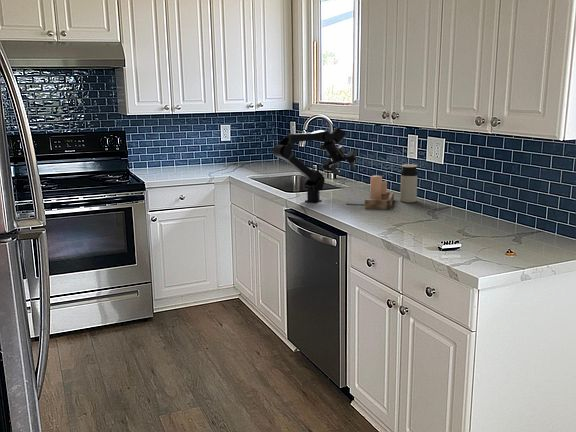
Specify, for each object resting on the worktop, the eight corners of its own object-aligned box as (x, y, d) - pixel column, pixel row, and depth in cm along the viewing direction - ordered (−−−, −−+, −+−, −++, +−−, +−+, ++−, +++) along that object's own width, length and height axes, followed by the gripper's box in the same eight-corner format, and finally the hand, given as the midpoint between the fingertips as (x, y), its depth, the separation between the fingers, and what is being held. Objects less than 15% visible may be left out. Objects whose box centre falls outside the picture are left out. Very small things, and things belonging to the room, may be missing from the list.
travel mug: (419, 202, 280) (420, 165, 276) (405, 203, 278) (406, 166, 274) (411, 199, 287) (412, 163, 283) (397, 200, 285) (398, 164, 281)
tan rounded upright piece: (369, 204, 276) (369, 177, 273) (370, 202, 281) (371, 175, 278) (385, 205, 274) (386, 177, 271) (386, 202, 280) (387, 175, 276)
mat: (346, 204, 277) (346, 203, 277) (349, 200, 286) (349, 199, 286) (367, 205, 274) (367, 204, 274) (369, 201, 284) (369, 200, 284)
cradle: (364, 208, 268) (364, 199, 267) (370, 198, 290) (370, 191, 289) (389, 209, 265) (390, 200, 265) (393, 199, 287) (393, 191, 286)
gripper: (350, 134, 288) (365, 156, 296) (319, 146, 297) (334, 167, 305) (347, 148, 280) (362, 170, 288) (315, 160, 290) (331, 181, 298)
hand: (347, 172), depth 295 cm, fingers open, 9 cm apart
